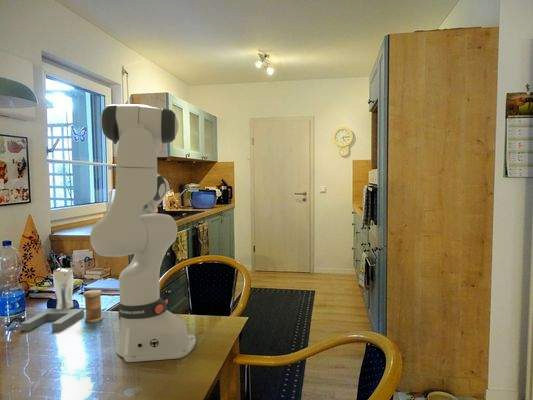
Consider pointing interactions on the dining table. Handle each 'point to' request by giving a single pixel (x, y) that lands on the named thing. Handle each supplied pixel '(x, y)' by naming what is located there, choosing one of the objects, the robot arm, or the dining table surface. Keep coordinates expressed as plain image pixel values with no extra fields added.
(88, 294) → the cord reel
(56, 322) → the grey flat piece
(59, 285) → the beer glass
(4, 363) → the dining table surface
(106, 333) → the dining table surface
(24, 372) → the dining table surface
